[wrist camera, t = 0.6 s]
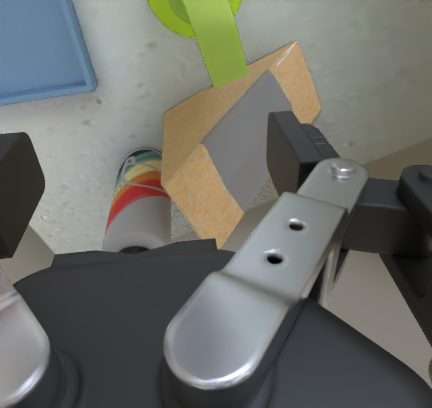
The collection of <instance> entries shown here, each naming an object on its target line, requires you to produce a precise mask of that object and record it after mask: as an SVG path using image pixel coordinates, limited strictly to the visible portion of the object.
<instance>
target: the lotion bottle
mask: <svg viewBox="0 0 432 408" xmlns="http://www.w3.org/2000/svg"><path fill="white" fill-rule="evenodd" d="M161 167H162V154H161V153H160V152H158V151H156V150H154V149H150V148H138V149H135V150H132V151H130V152H129V153H128V154H127V155H126V156H125V157H124V158H123V160H122V162H121V165H120V168H119V173H118V177H117V182H116V186H115V191H114V195H113V200H112V204H111V209H110V213H109V218H108V222H107V227H106V231H105V236H104V241H103V246H102V251H107V252H119V253H133V254H134V253H140V252H144V251H147V250H151V249H154V248H158V247H161V246H165V245H168V244H171V198H170V197H169V195H168V194H167V192H166V191H165V190H164V188H163V187H162V185H161Z"/></svg>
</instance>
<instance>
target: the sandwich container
mask: <svg viewBox="0 0 432 408" xmlns="http://www.w3.org/2000/svg"><path fill="white" fill-rule="evenodd" d="M247 67H248V71H249V74H248V75H246V76H243V77H241V78H238V79H236V80H233V81H231V82H228V83H225V84H223V85H220V86H218V87H214V86H213V85H211V86H209V87H208V88H206V89H203V90H201V91H200V92H198V93H196V94H195V95H193V96H191V97H190V98H188V99H186V100H185V101H183V102H181V103H180V104H178V105H176V106H175V107H173V108H172V109H170V110H168V111H167V112H165V113H164V126H163V146H162V167H161V185H162V187H163V188H164V190H165V191H166V192H167V194H168V195H169V197H170V198H171V199H172V201H173V202H174V203H175V205H176V206H177V207H178V209H179V210H180V212H181V213H182V214H183V216H184V217H185V218H186V220H187V221H188V223H189V224H190V225H191V227H192V228H193V230H194V231H195V233H196V234H197V235H198V237H199V238H200V240H202V239H212V238H216V244H217V249H221V248H222V246H223V245H224V243H225V242H226V240H227V239H228V237H229V235H230V234H231V233H232V231H233V230H234V228H235V227H236V225H237V224H238V222H239V221H240V219H241V218H242V216H243V215H244V213H245V212H246V210H247V209H248V208H249V206H250V205H251V203H252V202H253V201H254V199H255V198H256V196H257V195H258V194H259V192H260V191H261V190H262V188H263V187H264V186H265V184H266V183H267V182H268V180H269V179H270V177H271V176H270V174H269V171H268V168H267V161H266V148H267V124H268V115H269V113H270V112H277V111H289V110H291V111H292V112H293V113H294V114H295V116H296V117H297V119H298V120H299V122H300V123H301V124H303V123H308V124H311V122H312V121H313V120H314V118H315V117H316V116H317V114H318V113H319V112H320V111H321V106H320V103H319V100H318V96H317V93H316V89H315V86H314V83H313V79H312V76H311V74H310V71H309V69H308V66H307V64H306V61H305V59H304V56H303V54H302V51H301V49H300V47H299V44H298V42H297V41H294V42H292V43H290V44H288V45H286V46H284V47H283V48H281V49H279V50H277V51H275V52H273V53H271V54H269V55H267V56H265V57H263V58H261V59H259V60H257V61H255V62H253V63H251V64H249V65H248V66H247Z"/></svg>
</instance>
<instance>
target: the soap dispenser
mask: <svg viewBox="0 0 432 408" xmlns="http://www.w3.org/2000/svg"><path fill="white" fill-rule="evenodd" d="M241 1H242V0H148V3H149V5H150V7H151V9H152V11H153V13H154V14H155V16H156V17H157V18H158V19H159V21H160V22H161V23H162V24H163V25H165V26H166V27H167V28H168V29H170V30H171V31H173V32H175V33H177V34H179V35H182V36H186V37H194V38H196V40H197V43H198V45H199V48H200V51H201V54H202V56H203V59H204V62H205V64H206V67H207V70H208V73H209V75H210V78H211V81H212V83H213V86H214V87H218V86H220V85H223V84H225V83H228V82H231V81H233V80H236V79H238V78H241V77H243V76H246V75H248V74H249V71H248V67H247V63H246V59H245V56H244V52H243V48H242V45H241V41H240V37H239V34H238V30H237V27H236V23H235V20H234V16H235V14H236V12H237V11H238V9H239V6H240V4H241Z"/></svg>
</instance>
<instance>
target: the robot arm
mask: <svg viewBox="0 0 432 408" xmlns="http://www.w3.org/2000/svg"><path fill="white" fill-rule="evenodd" d="M266 161H267V168H268V171H269V174H270V176H271V178H272V181H273V183H274V185H275V188H276V190H277V193H278V195H279V198H278V200H277V201H276V202H275V204H274V205H273V206H272V208H271V209H270V210H269V211H268V212H267V214H266V215H265V216H264V218H263V219H262V220H261V221H260V223H259V224H258V225H257V226H256V228H255V229H254V230H253V232H252V233H251V234H250V235H249V237H248V238H247V239H246V241H245V242H244V243H243V244H242V246H241V247H240V248H239V249H238V251H237V252H233V251H227V250H221V249H217V244H216V238H212V239H202V240H194V241H183V242H176V243H172V244H168V245H165V246H161V247H158V248H154V249H151V250H147V251H144V252H140V253H134V254H133V253H119V252H107V251H86V252H76V253H66V254H57V255H55V257H54V259H53V262H52V265H51V267H49V268H46V269H43V270H40V271H38V272H35V273H33V274H31V275H29V276H27V277H25V278H23V279H21V280H19V281H18V282H16V283H15V284H13V285H12V283H11V282H10V280H9V279H8V277H7V276H6V274H5V273H4V271H3V270H2V268H1V266H0V408H432V389H431V388H430V386H429V385H428V384H427V383H426V382H425V381H424V380H423V379H422V378H421V377H420V376H419V375H418V374H417V373H416V372H414V371H413V370H412V369H411V368H409V367H408V366H407V365H406V364H404V363H403V362H402V361H400V360H399V359H397V358H396V357H394V356H393V355H392V354H390V353H389V352H387V351H386V350H384V349H383V348H382V347H380V346H379V345H377V344H376V343H374V342H373V341H371V340H370V339H368V338H367V337H366V336H364V335H363V334H361V333H360V332H358V331H357V330H356V329H354V328H353V327H351V326H350V325H348V324H347V323H346V322H344V321H343V320H341V319H340V318H338V317H337V316H336V315H334V314H332V313H331V312H330V311H328V310H327V308H328V305H329V301H330V298H331V296H332V293H333V291H334V288H335V286H336V284H337V282H338V280H339V277H340V275H341V273H342V271H343V268H344V266H345V264H346V262H347V259H348V257H349V255H350V252H351V250H355V251H364V252H371V253H379V255H380V257H381V259H382V261H383V262H384V264H385V266H386V267H387V270H388V271H389V273H390V275H391V277H392V278H393V280H394V282H395V284H396V285H397V287H398V289H399V291H400V292H401V294H402V296H403V298H404V299H405V301H406V303H407V305H408V306H409V308H410V310H411V312H412V313H413V315H414V317H415V319H416V320H417V322H418V324H419V326H420V327H421V329H422V331H423V333H424V334H425V336H426V338H427V340H428V341H429V343H430V345H431V347H432V166H430V165H412V166H409V167H406V168H405V169H403V171H402V173H401V176H400V179H399V181H395V180H384V179H375V178H369V177H368V176H369V173H368V170H367V169H366V168H365V167H364V166H363V165H362V164H360V163H358V162H356V161H353V160H349V159H343V158H340V156H339V155H338V154H337V153H336V151H335V150H334V149H333V147H332V146H331V145H330V144H329V142H328V141H327V140H326V138H324V136H323V134H322V133H321V132H320V131H319V129H317V128H315V127H314V126H312V125H310V124H308V123H303V124H301V123H300V122H299V120H298V119H297V117H296V116H295V114H294V113H293V112H292V111H291V110H289V111H277V112H270V113H269V115H268V124H267V148H266ZM44 189H45V179H44V174H43V172H42V169H41V166H40V163H39V161H38V158H37V155H36V153H35V150H34V147H33V145H32V142H31V139H30V137H29V136H28V135H27V133H25V132H20V133H8V134H0V259H4V258H12V257H13V255H14V253H15V251H16V249H17V247H18V244H19V242H20V240H21V238H22V236H23V234H24V232H25V230H26V228H27V226H28V224H29V222H30V220H31V218H32V215H33V213H34V211H35V209H36V207H37V205H38V203H39V201H40V199H41V197H42V195H43V193H44ZM428 373H429V377H430V380H431V383H432V358H431V360H430V362H429V366H428Z"/></svg>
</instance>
